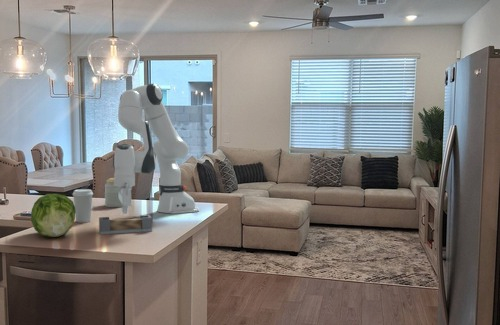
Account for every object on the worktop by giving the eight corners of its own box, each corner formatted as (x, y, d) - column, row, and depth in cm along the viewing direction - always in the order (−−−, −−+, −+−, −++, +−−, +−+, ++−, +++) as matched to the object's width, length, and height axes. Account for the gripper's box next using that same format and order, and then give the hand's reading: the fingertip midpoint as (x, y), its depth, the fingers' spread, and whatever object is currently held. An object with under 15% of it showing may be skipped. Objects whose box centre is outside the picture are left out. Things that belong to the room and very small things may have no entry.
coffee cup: (74, 224, 235) (73, 192, 234) (71, 220, 244) (70, 189, 243) (95, 222, 240) (95, 191, 239) (91, 218, 248) (91, 188, 247)
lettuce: (28, 224, 195) (69, 195, 201) (16, 205, 213) (54, 179, 219) (54, 256, 204) (93, 227, 210) (41, 235, 222) (77, 209, 229)
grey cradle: (149, 227, 229) (149, 214, 229) (152, 231, 223) (152, 217, 222) (99, 230, 222) (99, 217, 221) (100, 234, 215) (99, 220, 215)
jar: (133, 205, 289) (133, 174, 287) (116, 208, 278) (115, 176, 276) (117, 202, 296) (117, 172, 294) (99, 205, 285) (99, 174, 283)
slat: (145, 226, 227) (145, 218, 226) (146, 228, 224) (146, 219, 223) (103, 229, 221) (103, 220, 220) (104, 230, 218) (104, 221, 217)
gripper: (134, 184, 212) (134, 217, 213) (129, 179, 231) (129, 208, 232) (119, 185, 210) (119, 217, 211) (115, 179, 229) (115, 209, 230)
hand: (124, 213), depth 222 cm, fingers closed
